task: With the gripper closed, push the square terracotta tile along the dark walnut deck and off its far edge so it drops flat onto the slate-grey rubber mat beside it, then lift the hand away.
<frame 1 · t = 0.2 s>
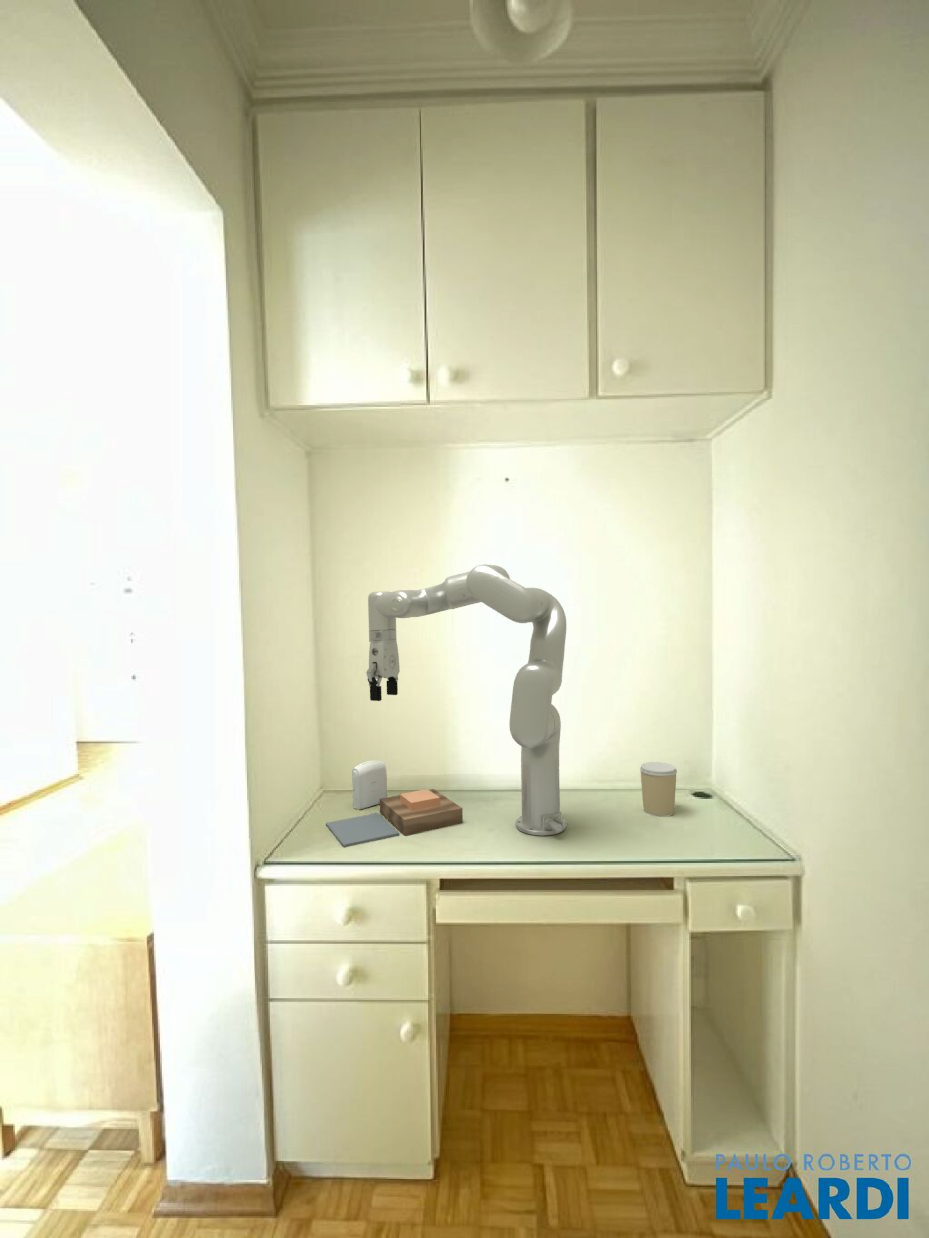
hand: (384, 697, 168), 31 cm above the table, tool pointing down, fingers open, 9 cm apart
tile: (419, 803, 159), point 4 cm above the table, touching deck
photo printer: (370, 805, 171), on the table
coffee cup: (658, 811, 161), on the table
mat: (361, 830, 152), on the table
deck: (420, 818, 159), on the table
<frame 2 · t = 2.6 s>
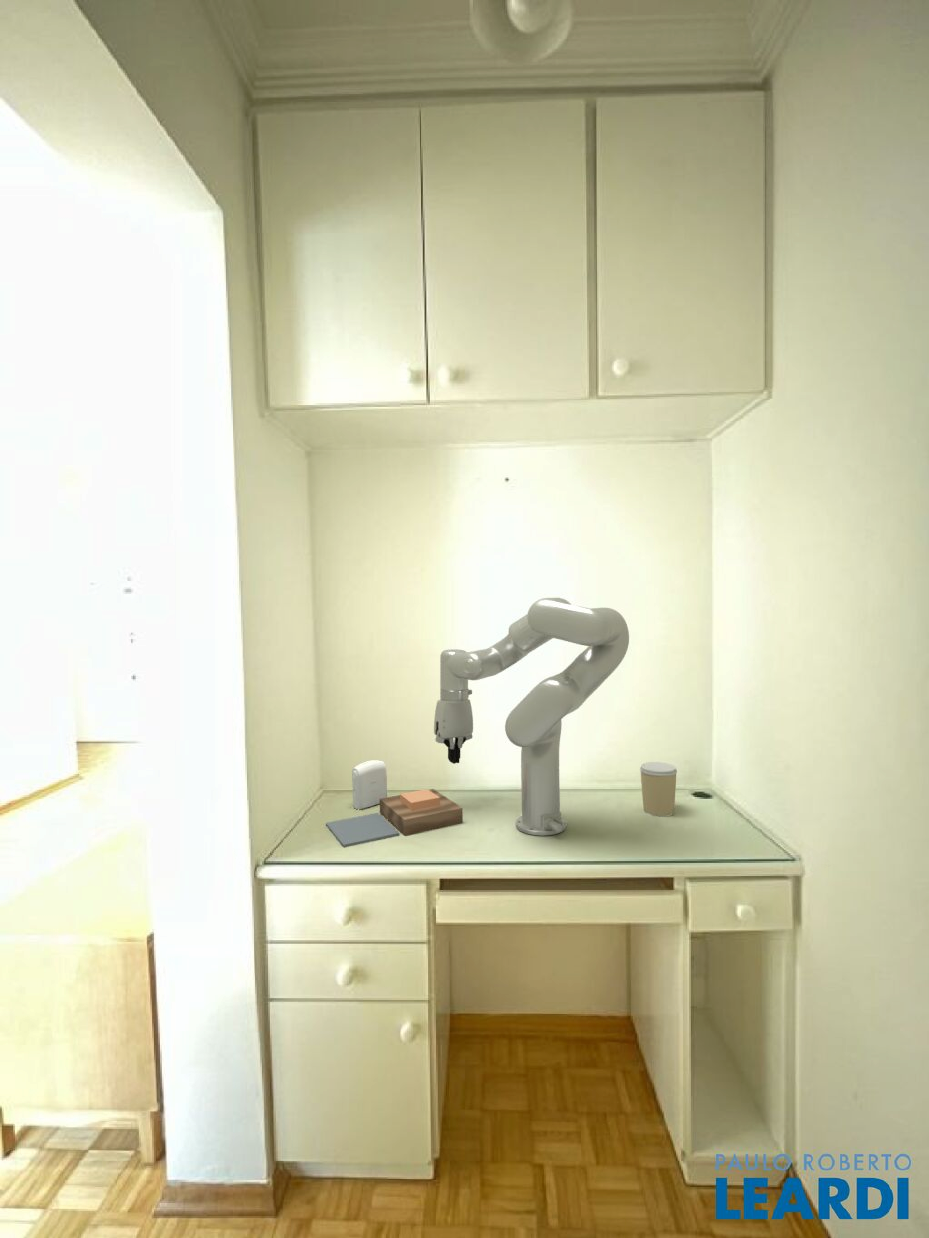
hand: (454, 761, 164), 13 cm above the table, tool pointing down, fingers closed
nothing on the table moved.
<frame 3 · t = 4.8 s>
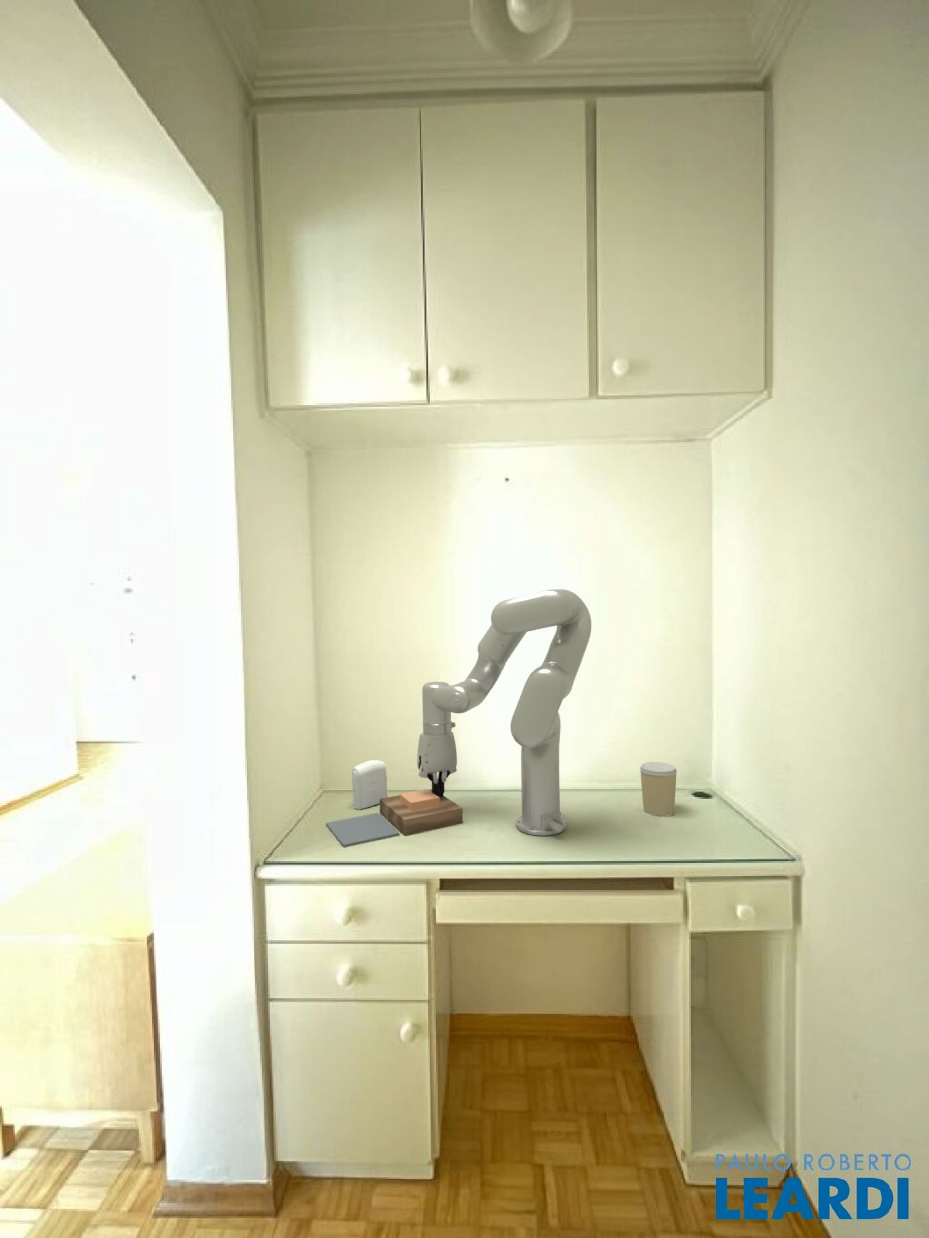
hand: (438, 796, 162), 5 cm above the table, tool pointing down, fingers closed
tile: (419, 803, 159), point 4 cm above the table, touching gripper
everything else where it was.
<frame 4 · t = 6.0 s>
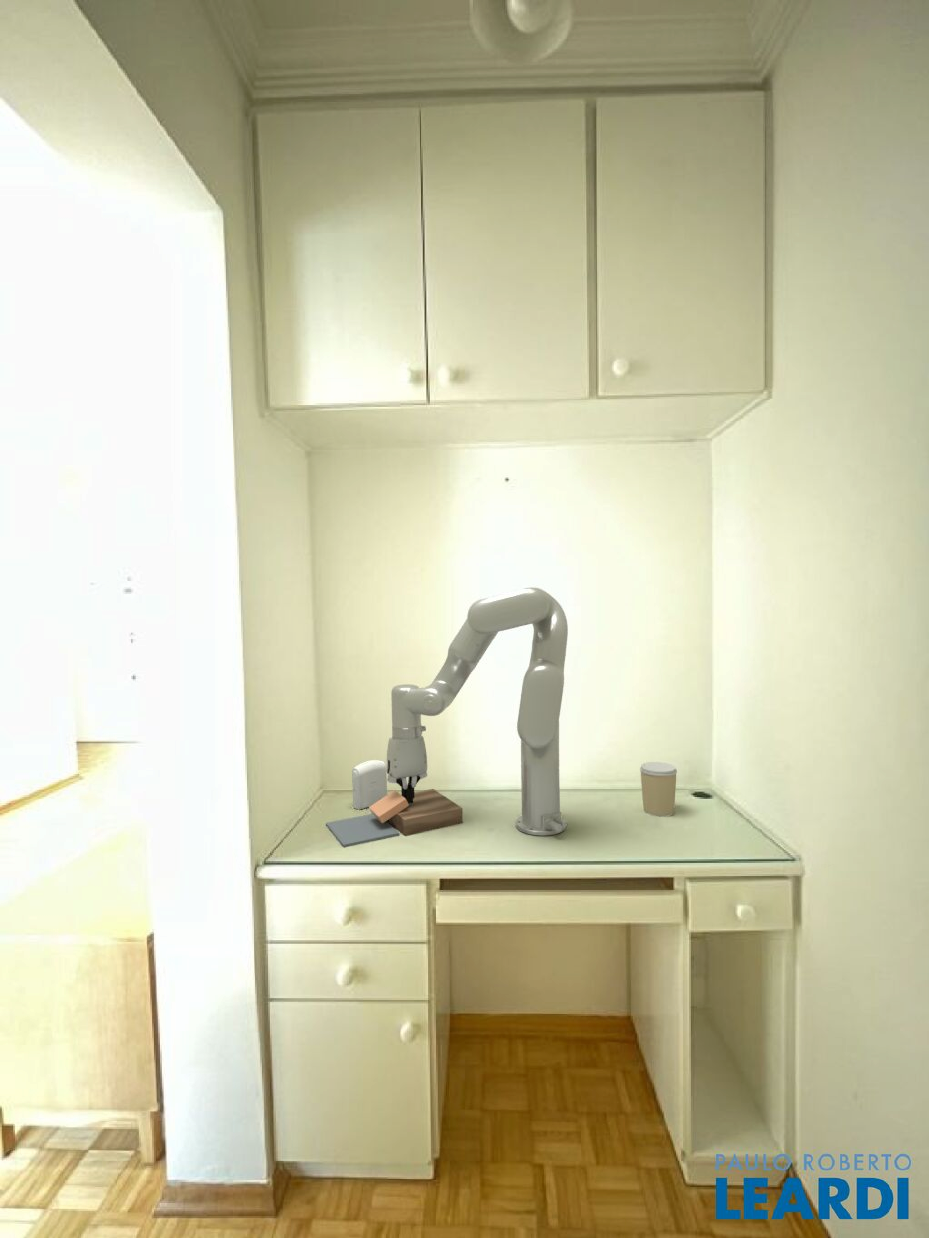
hand: (408, 801, 158), 5 cm above the table, tool pointing down, fingers closed
tile: (390, 809, 155), point 4 cm above the table, tilted 24°, touching gripper
everything else where it was.
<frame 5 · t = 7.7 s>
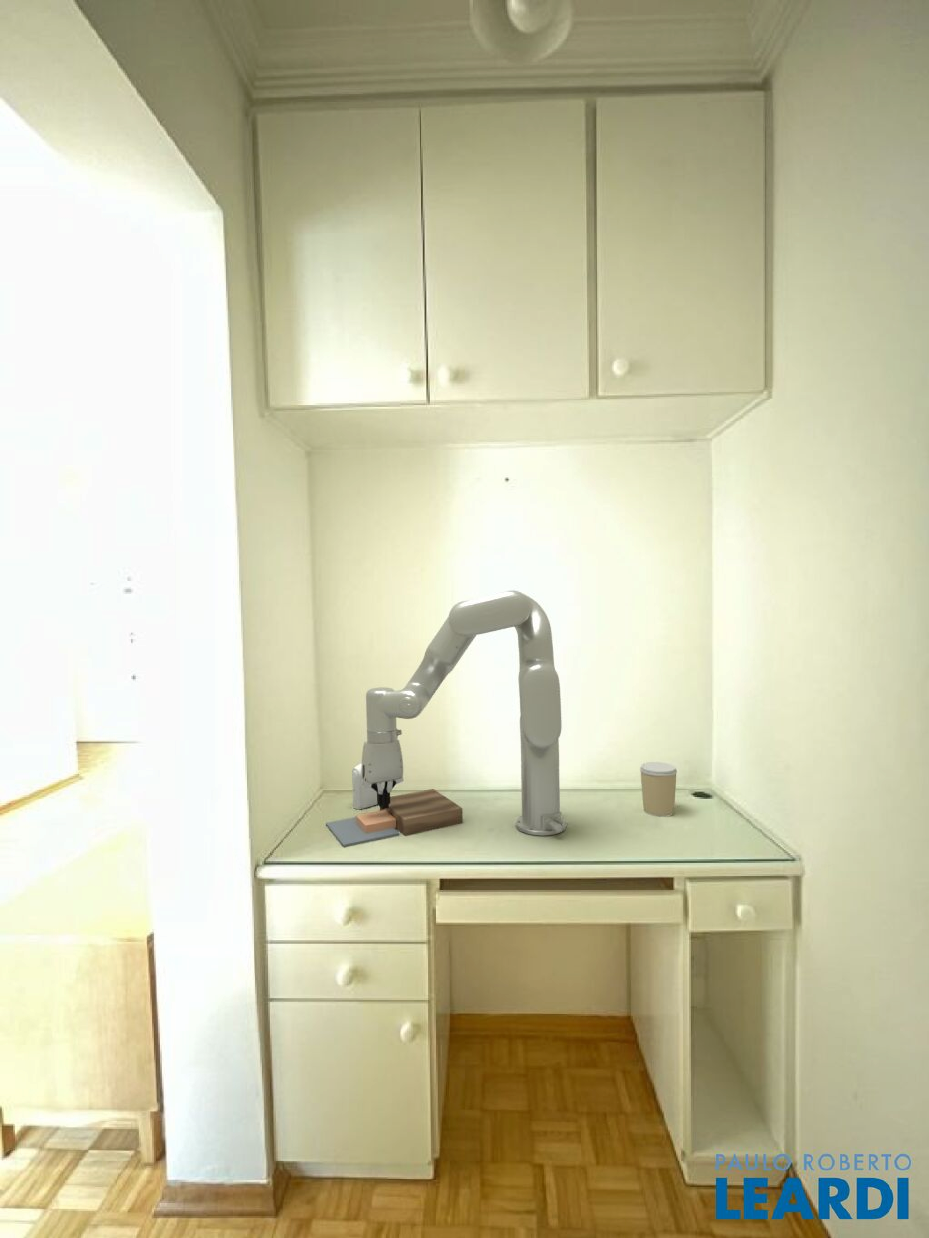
hand: (383, 807, 155), 5 cm above the table, tool pointing down, fingers closed
tile: (375, 824, 154), point 1 cm above the table, touching mat
everything else where it was.
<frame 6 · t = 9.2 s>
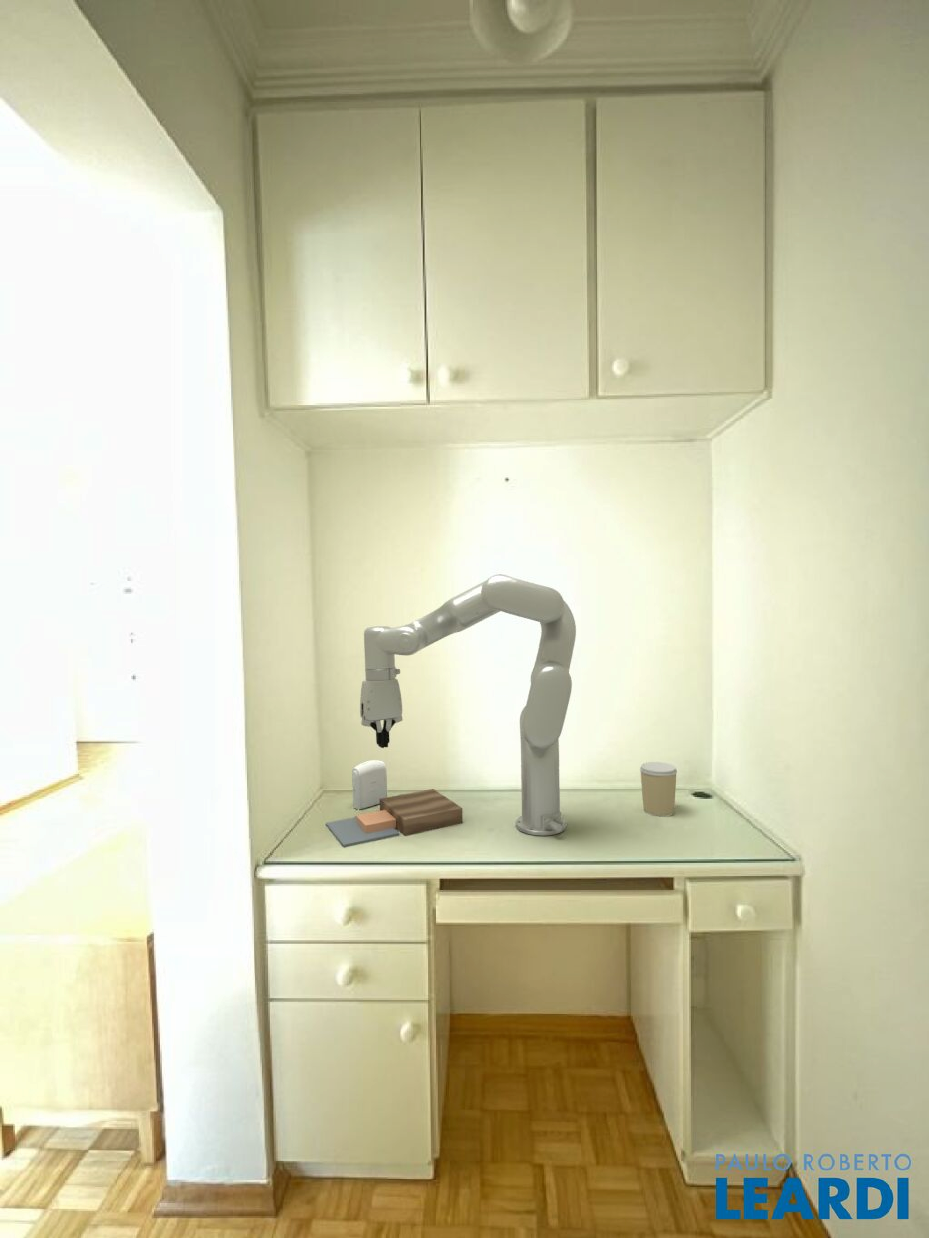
hand: (383, 746, 154), 20 cm above the table, tool pointing down, fingers closed
nothing on the table moved.
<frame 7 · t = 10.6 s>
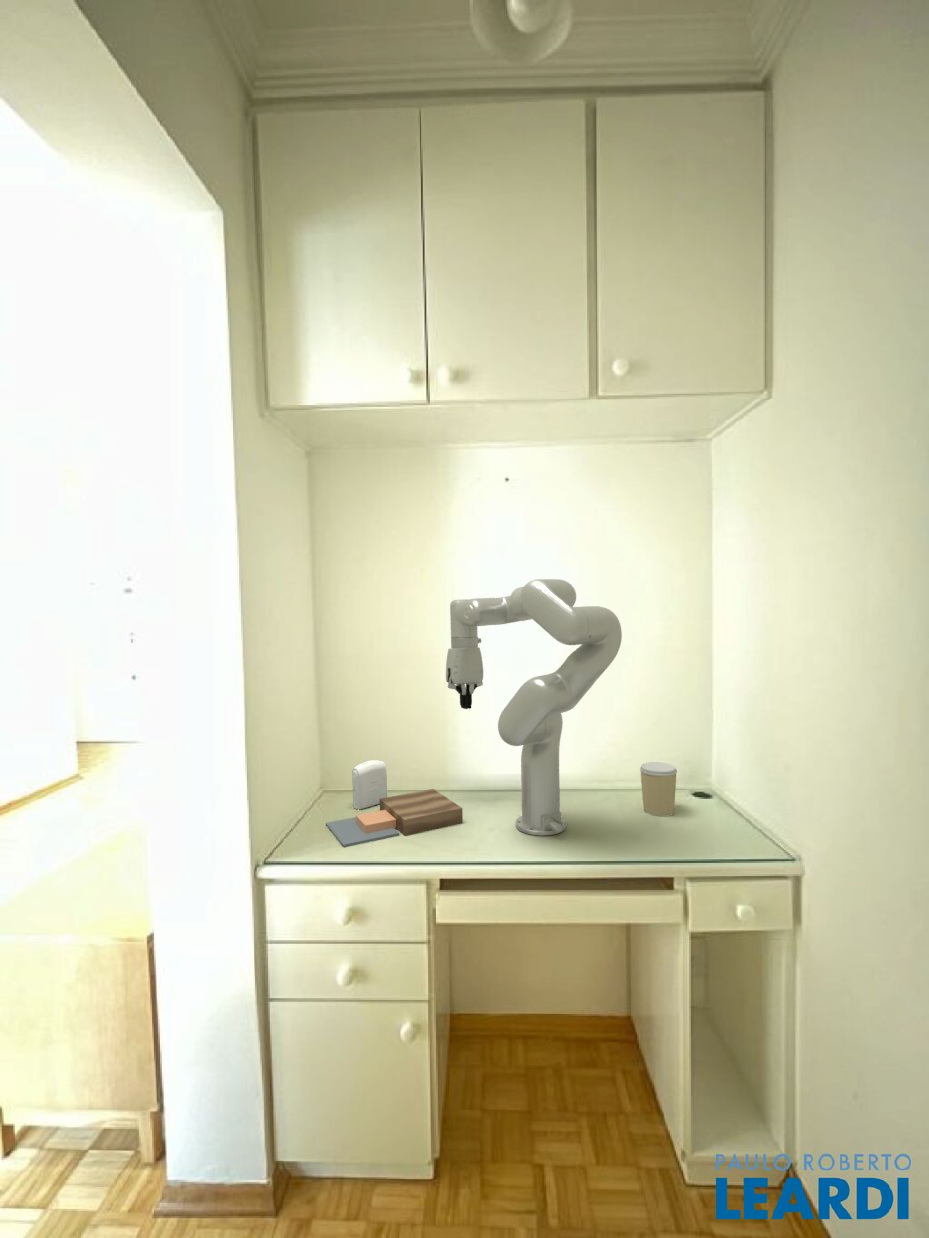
hand: (466, 708, 170), 27 cm above the table, tool pointing down, fingers closed
nothing on the table moved.
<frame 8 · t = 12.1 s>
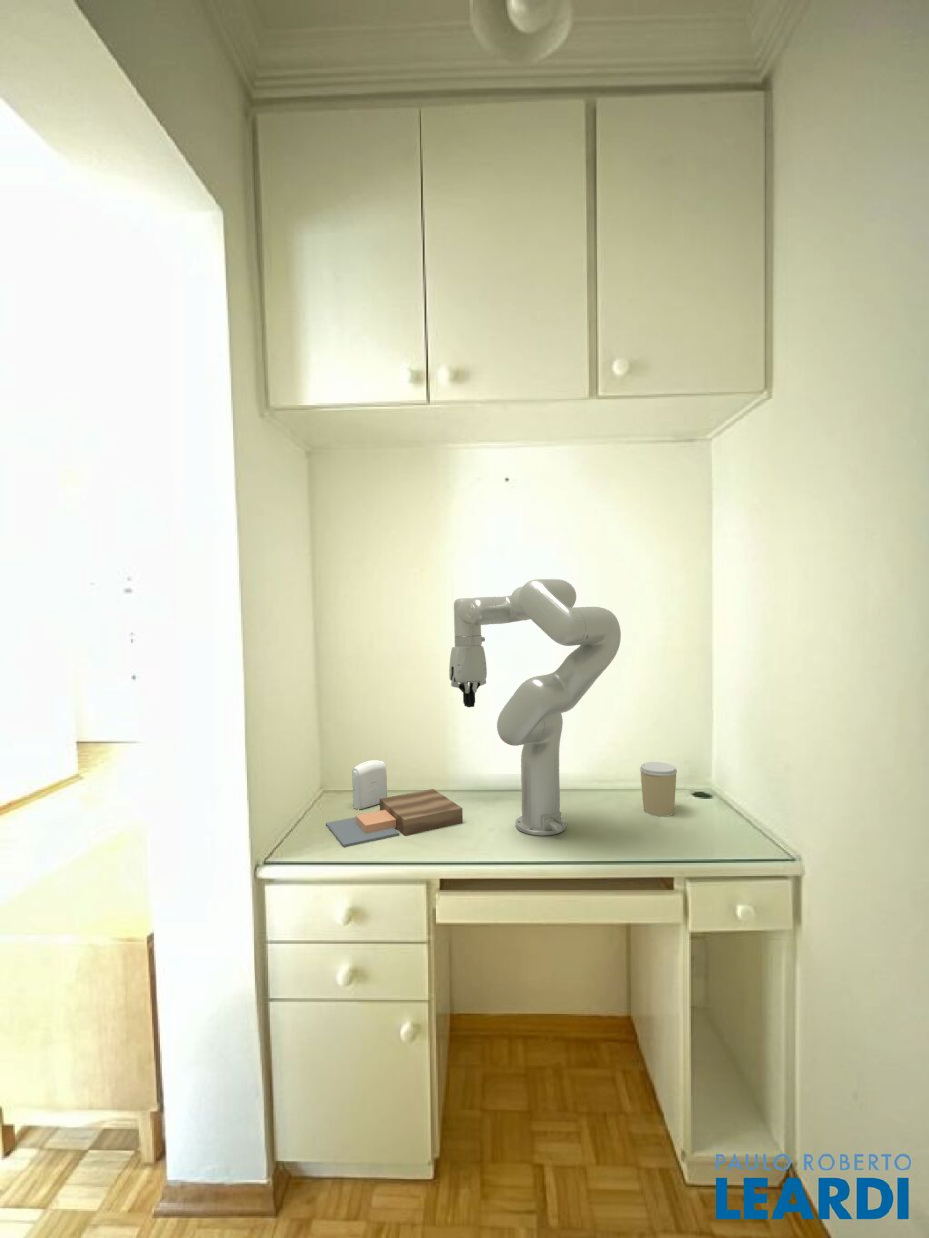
hand: (469, 706, 171), 27 cm above the table, tool pointing down, fingers closed
nothing on the table moved.
at the end: tile inside the target area on the mat (4.0 cm from its centre), point 0.6 cm above the mat's base; tile point 0.6 cm above the table; the gripper is holding nothing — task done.
